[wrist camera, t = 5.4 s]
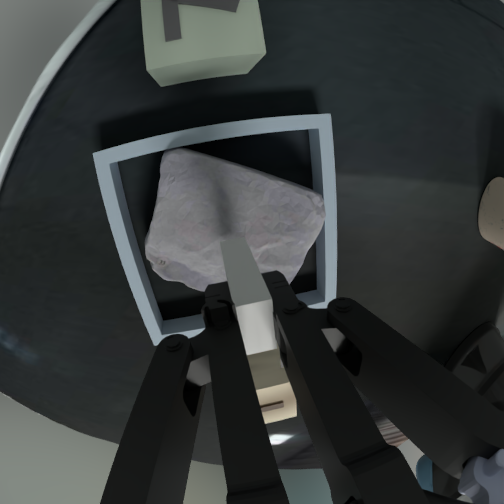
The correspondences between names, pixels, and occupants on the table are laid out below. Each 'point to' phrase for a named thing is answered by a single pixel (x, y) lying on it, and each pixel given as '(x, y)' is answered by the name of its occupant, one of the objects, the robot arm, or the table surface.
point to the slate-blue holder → (108, 158)
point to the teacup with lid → (492, 213)
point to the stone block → (227, 218)
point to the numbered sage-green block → (200, 38)
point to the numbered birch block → (272, 386)
